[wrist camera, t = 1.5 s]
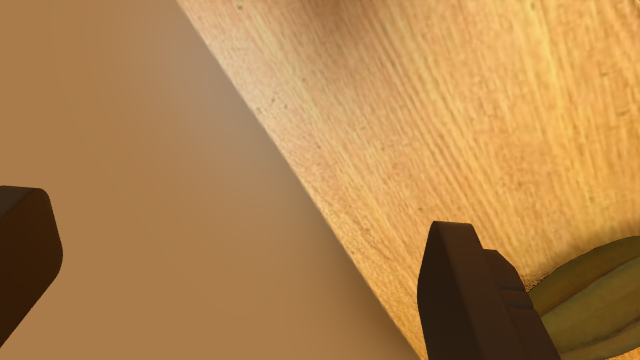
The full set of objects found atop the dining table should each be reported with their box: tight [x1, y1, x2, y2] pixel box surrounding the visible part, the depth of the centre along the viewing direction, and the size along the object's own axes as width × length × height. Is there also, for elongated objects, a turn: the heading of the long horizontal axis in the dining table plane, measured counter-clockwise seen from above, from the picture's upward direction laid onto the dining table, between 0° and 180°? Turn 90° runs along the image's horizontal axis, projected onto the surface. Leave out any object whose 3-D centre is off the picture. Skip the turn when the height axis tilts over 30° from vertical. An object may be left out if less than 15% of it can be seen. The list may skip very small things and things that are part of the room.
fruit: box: [528, 236, 640, 360], centre depth 34 cm, size 11×12×7 cm
